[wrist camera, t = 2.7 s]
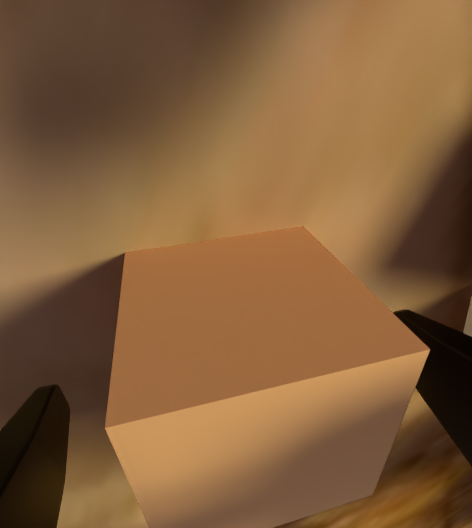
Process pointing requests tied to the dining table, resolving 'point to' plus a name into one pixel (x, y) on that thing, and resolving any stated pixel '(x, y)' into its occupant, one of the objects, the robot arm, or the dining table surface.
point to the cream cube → (469, 321)
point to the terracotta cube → (253, 381)
